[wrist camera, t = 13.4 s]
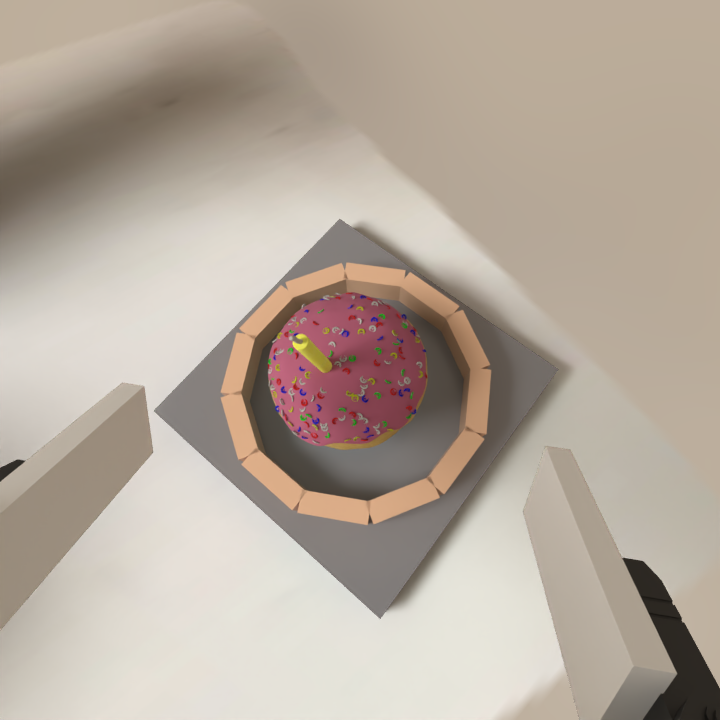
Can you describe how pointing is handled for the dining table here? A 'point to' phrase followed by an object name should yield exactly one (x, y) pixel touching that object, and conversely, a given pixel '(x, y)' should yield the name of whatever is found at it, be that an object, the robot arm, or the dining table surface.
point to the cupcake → (347, 372)
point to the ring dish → (367, 465)
